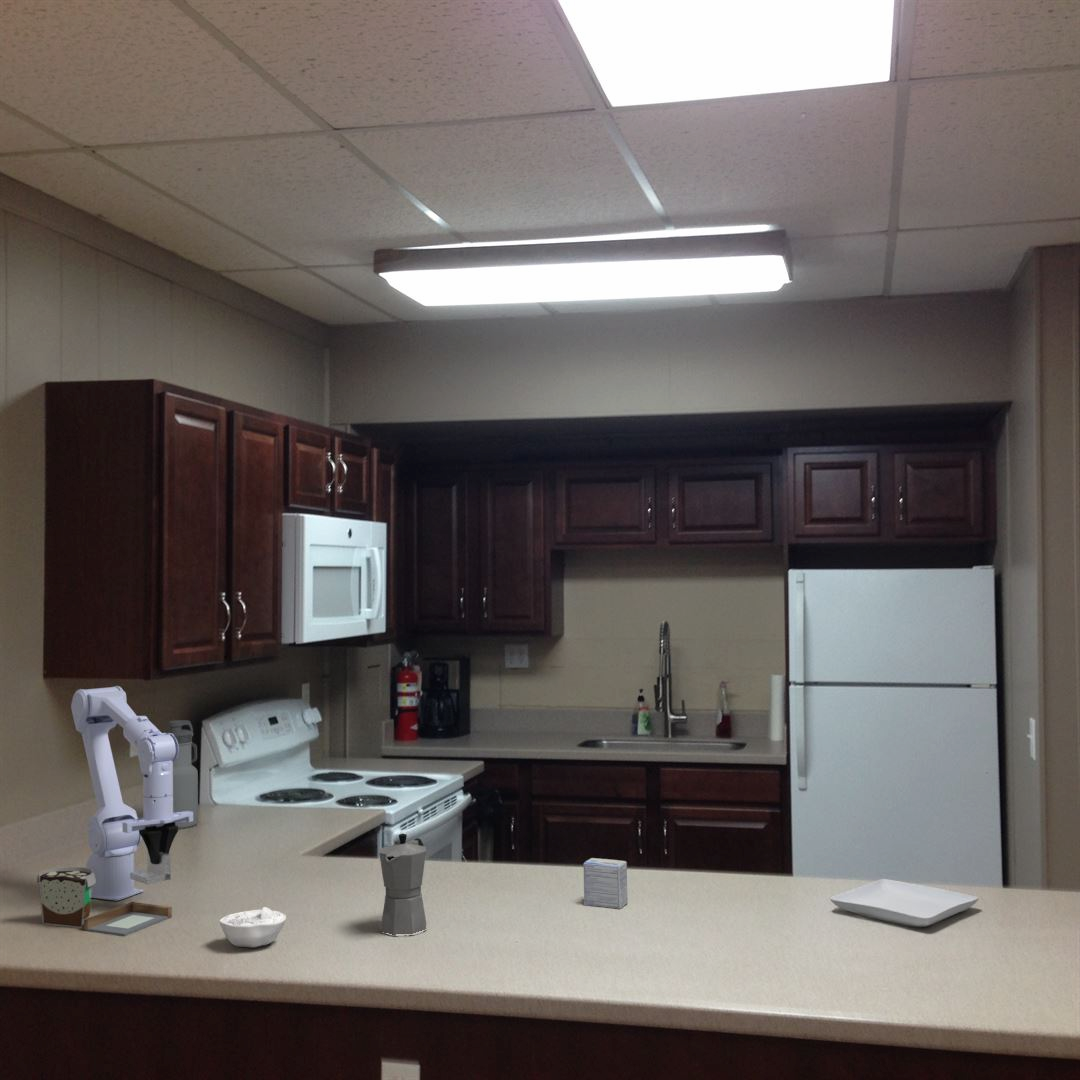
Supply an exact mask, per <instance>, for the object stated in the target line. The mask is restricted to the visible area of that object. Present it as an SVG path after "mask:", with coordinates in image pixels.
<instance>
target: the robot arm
mask: <svg viewBox="0 0 1080 1080" xmlns="http://www.w3.org/2000/svg"><path fill="white" fill-rule="evenodd" d="M70 705H71V706H70V707H71V709H70V710H71V713H72V717H73V723H74V725H75V726H74V727H75V730H76V731H77V732H78V733H80V734H81V736H82V741H83V746H84V750H85V755H86V759H87V765H88V769H89V773H90V774H89V775H90V778H91V783H92V788H93V792H94V795H95V796H94V797H95V801H96V805H97V810H96V811H95V812H94V814H93V815H92V816H91V817H90V818H89V820H88V822H87V828H88V829H87V830H88V837H87V838H88V845H89V847H90V850H91V851H92V854H90V855H89V857H88V859H87V861H86V864H85V865H86V866H85V868H89V869H92V870H93V873H94V875H95V879H96V883H95V884H94V885H92V892H91V899H100V900H107V901H114V902H115V901H116V902H118V901H122V900H124V899H126V898H130V897H132V896H135V895H137V894H141V893H143V892H144V889H143V888H136V887H135V880H132V879H130V873H131V872H135V852H137V851H138V847H139V846H140V845H141V843H142V841H143V842H144V844H145V847H146V849H147V850H148V853H149V857H150V861H151V863H152V864H155V865H156V864H159V851H161V852H164V853H167V854H170V850H171V847H172V844H173V842H174V840H175V837H177V834H178V832H179V829H178V826H176V825H175V824H176V823H182V822H192V821H193V812H191V811H184V812H175V813H173V761H175V760H176V759H177V757H178V752H179V746H178V742H177V739H176V738H175V736H174V735H173V734H172V733H167V734H166V732H163V733H162V732H161V731H160V730H159V728H158V727H156V725H155V724H154V723H152V722H151V721H150V720H149V718H148V716H146V715H137V714H136V713H135V711H134V710H133V709H132V708H131V706H129V704H128V702H127V693H126V691H124V690H123V688H122V687H121V686H119V685H114V686H110V687H100V688H99V687H98V688H88V689H83V688H80V689H79V688H78V689H77V690H76V691H75V693H73V696H72V699H71V703H70ZM117 724H118V725H119V726H120V727H122V729H123V731H122V732H123V733H122V734H123V737H124V738H125V739H126V740H127V741H128V743H130V744H131V745H132V746H133V748H135V750H136V755H137V759H138V762H139V766H140V770H139V771H140V773H141V774H142V775H143V776H142V777H143V778H142V779H143V781H142V782H143V783H142V785H143V787H142V788H143V794H142V795H143V796H142V797H143V798H142V799H143V801H142V802H143V816H142V817H138V813H137V811H136V810H135V809H134V808H133V807H131V806H129V805H127V804H125V803H124V801H123V798H122V791H121V787H120V783H119V778H118V774H117V771H116V770H117V769H116V766H115V765H116V764H115V761H114V757H113V752H112V748H111V743H110V739H109V732H110V730H112V729H114V728H115V727H116V726H117ZM147 850H146V851H147Z"/></svg>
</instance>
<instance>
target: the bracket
mask: <svg viewBox="0 0 1080 1080" xmlns="http://www.w3.org/2000/svg"><path fill="white" fill-rule="evenodd" d="M146 851H147V854H146V857H147V868H146V869H141V870H136V871H134V872H131V873H130V879H132V880H134V882H135V881H136V882H138V883H141V884H143V885H147V886H148V885H152V884H155V883H161V882H166V881H169V880H171V877H172V875H171V854H170V853H169V854H167V853H164V852H161V851H159V864H156V865H155V864H152V863H151V861H150V857H149V853H148V850H146Z"/></svg>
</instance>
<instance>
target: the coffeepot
mask: <svg viewBox="0 0 1080 1080" xmlns="http://www.w3.org/2000/svg"><path fill="white" fill-rule="evenodd" d="M398 839H399V843H396V844H392V845H388V846H383V847H380V848H379V851H378V852H379V853H378V854H379V861H380V866H381V868H380V869H381V873H382V880H383V887H385V896H384V897H385V898H384V901H383V904H384V905H383V910H382V916H381V926H380V931H381V932H380V933H382V932H384V933H389V934H392V935H396V934H413V933H416V932H419V931H422V930H425V929H426V926H427V927H428V925H426V924H428V923H427V919H426V911H425V906H424V900H423V895H422V885H423V877H424V871H425V870H424V869H425V862H426V855H427V847H426V846H424V843H423V841H422V839H421V838H418V837H417V838H414V839H412V840H409V841H408V842H407V833H400V834H398Z"/></svg>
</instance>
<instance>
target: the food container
mask: <svg viewBox="0 0 1080 1080" xmlns="http://www.w3.org/2000/svg"><path fill="white" fill-rule="evenodd" d="M36 877H37V878H36V883H37V884H38V885H39V896H40V906H41V907H40V909H41V919H42V925H47V926H56V927H57V926H58V927H64V928H74V929H75V928H76V929H84V919H87V918H90V913H91V904H92V903H91V901H92V898H91V892H92V885H94V884H95V883H96V879H95V875H94V873H93V870H92V869H89V868H86V867H83V866H66V867H65V866H64V867H56V868H50V869H49V868H48V869H46V870H41V871H38V875H37V876H36Z"/></svg>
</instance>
